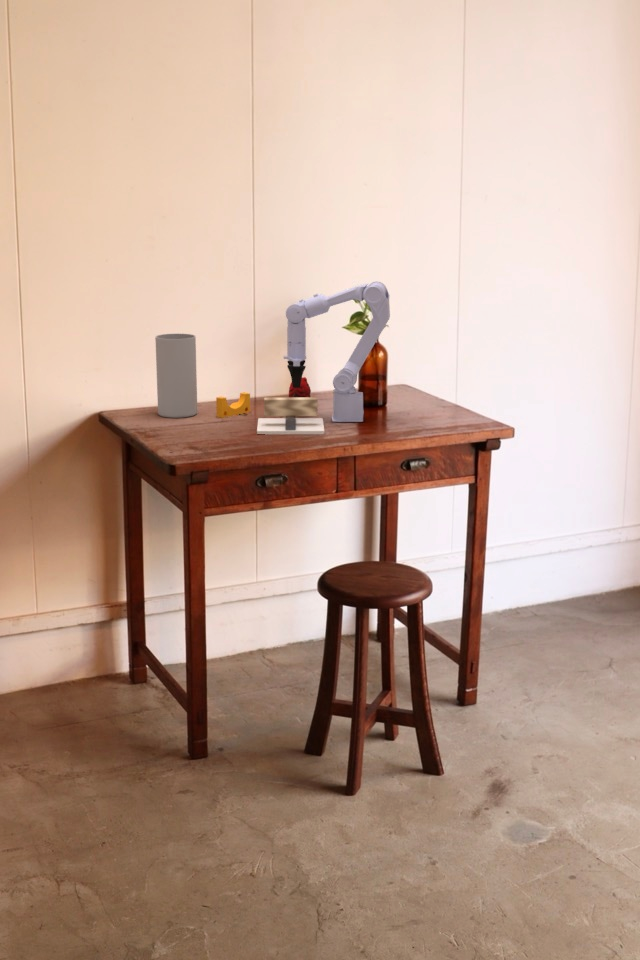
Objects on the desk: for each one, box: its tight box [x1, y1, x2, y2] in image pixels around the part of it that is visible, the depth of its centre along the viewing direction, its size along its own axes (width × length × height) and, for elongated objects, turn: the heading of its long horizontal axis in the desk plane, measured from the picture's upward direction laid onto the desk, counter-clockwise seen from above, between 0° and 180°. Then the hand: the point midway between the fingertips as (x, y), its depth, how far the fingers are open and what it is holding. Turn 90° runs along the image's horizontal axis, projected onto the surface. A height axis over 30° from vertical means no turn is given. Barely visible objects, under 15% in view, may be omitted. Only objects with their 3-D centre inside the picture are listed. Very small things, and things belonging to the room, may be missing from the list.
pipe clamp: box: [215, 392, 251, 419], centre depth 369 cm, size 12×4×6 cm, turn 136°
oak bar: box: [263, 396, 319, 417], centre depth 350 cm, size 16×4×5 cm, turn 92°
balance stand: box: [256, 416, 325, 435], centre depth 351 cm, size 20×18×4 cm
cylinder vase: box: [155, 333, 198, 419], centre depth 366 cm, size 12×12×25 cm
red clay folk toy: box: [288, 376, 312, 397], centre depth 386 cm, size 8×7×15 cm
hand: (296, 385), depth 362 cm, fingers open, 7 cm apart
